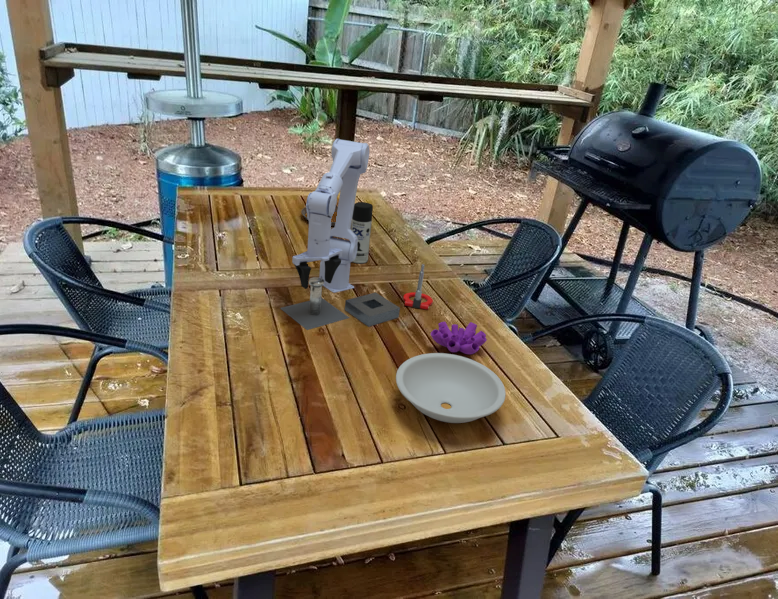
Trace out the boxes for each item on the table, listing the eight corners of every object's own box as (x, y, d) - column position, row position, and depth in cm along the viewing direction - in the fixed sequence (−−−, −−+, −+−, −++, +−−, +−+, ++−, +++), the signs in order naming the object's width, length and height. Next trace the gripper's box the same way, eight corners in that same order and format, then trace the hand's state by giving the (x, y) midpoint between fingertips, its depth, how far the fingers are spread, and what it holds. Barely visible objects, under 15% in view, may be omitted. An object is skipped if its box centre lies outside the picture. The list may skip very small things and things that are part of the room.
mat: (279, 309, 156) (279, 308, 156) (321, 298, 165) (321, 297, 165) (306, 331, 147) (307, 330, 147) (349, 319, 156) (349, 317, 156)
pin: (304, 311, 156) (306, 278, 152) (316, 308, 159) (318, 276, 154) (312, 317, 154) (314, 284, 149) (324, 314, 156) (326, 281, 152)
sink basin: (488, 457, 111) (495, 431, 108) (376, 421, 118) (380, 395, 115) (507, 393, 132) (513, 370, 129) (411, 365, 138) (415, 342, 135)
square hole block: (344, 311, 160) (345, 300, 158) (374, 302, 167) (375, 292, 165) (368, 327, 153) (369, 316, 151) (398, 318, 159) (400, 307, 158)
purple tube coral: (482, 364, 149) (494, 351, 140) (427, 362, 147) (435, 348, 138) (479, 325, 154) (489, 310, 145) (425, 322, 152) (433, 307, 143)
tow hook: (404, 293, 176) (400, 306, 167) (411, 252, 170) (407, 262, 161) (433, 298, 175) (430, 311, 166) (440, 257, 169) (438, 267, 160)
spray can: (345, 260, 193) (349, 204, 184) (353, 254, 199) (358, 200, 190) (362, 265, 191) (368, 209, 182) (370, 259, 197) (376, 204, 188)
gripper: (303, 246, 139) (301, 295, 145) (350, 238, 148) (346, 285, 154) (288, 237, 144) (287, 285, 150) (335, 230, 153) (331, 275, 159)
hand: (316, 284), depth 152 cm, fingers open, 7 cm apart
